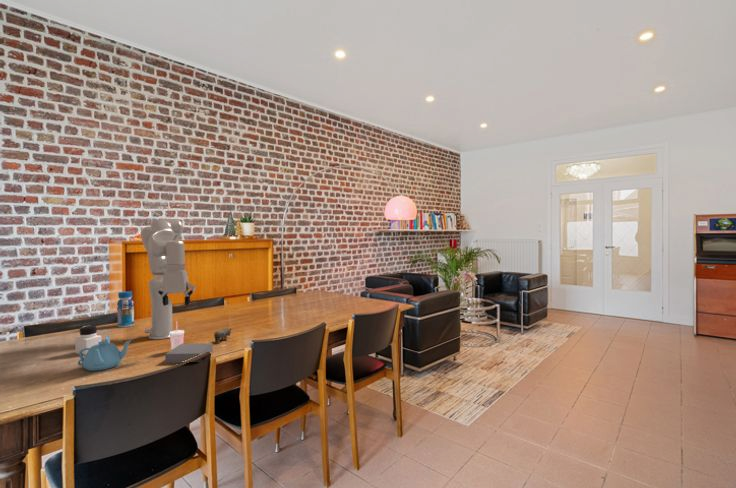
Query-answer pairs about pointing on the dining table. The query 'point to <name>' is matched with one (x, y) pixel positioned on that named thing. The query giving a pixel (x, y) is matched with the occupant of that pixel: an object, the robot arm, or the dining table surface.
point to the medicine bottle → (87, 339)
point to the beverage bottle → (125, 309)
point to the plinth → (187, 352)
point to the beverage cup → (176, 337)
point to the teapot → (102, 356)
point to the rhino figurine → (221, 334)
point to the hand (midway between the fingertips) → (176, 305)
